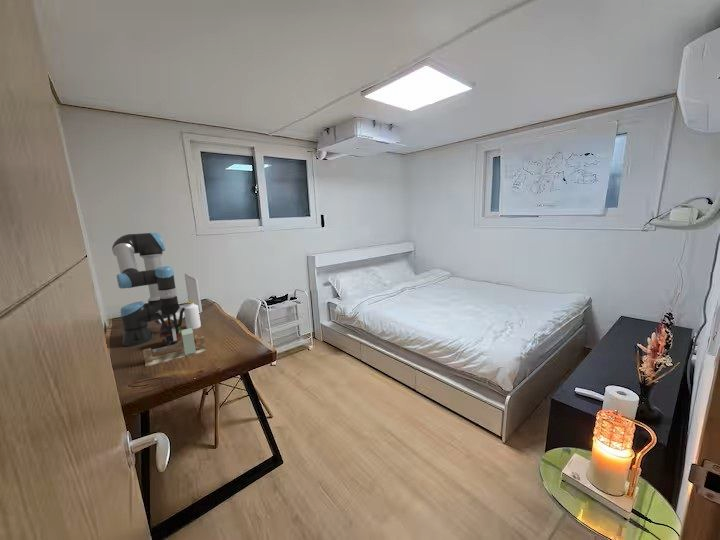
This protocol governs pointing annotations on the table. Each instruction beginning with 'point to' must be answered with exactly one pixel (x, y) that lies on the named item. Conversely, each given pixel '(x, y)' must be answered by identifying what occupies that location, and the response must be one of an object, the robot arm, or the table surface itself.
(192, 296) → the laptop
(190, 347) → the block
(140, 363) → the table surface
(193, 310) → the potion bottle
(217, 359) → the table surface
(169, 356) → the rail
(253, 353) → the table surface
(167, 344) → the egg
